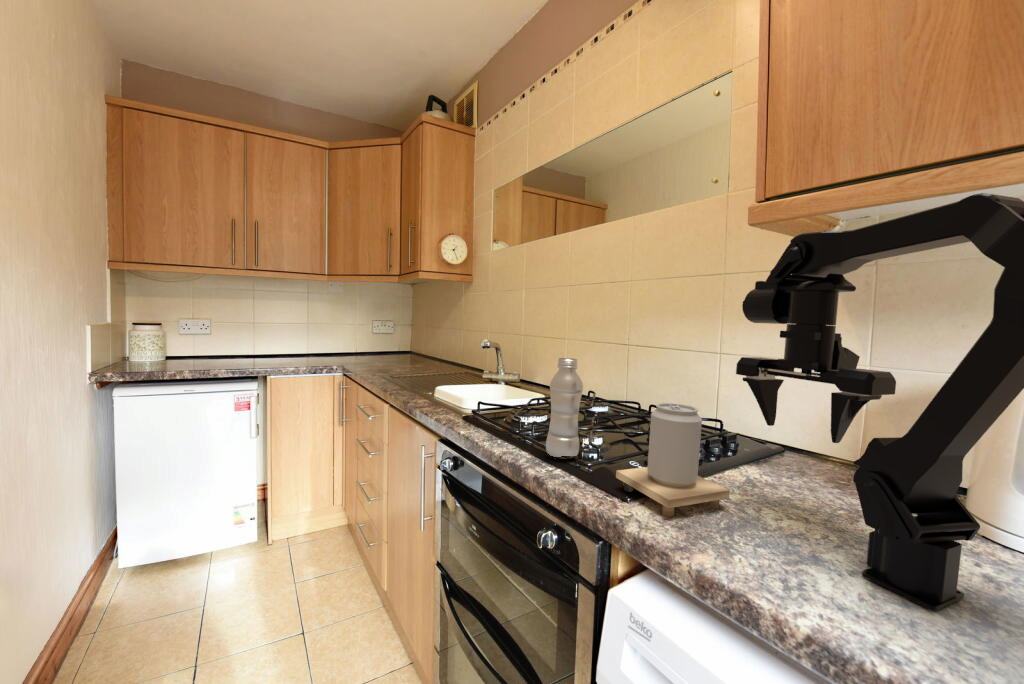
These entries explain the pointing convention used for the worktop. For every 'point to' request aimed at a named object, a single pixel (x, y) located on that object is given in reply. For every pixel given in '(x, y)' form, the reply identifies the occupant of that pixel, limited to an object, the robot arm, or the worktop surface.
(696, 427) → the can
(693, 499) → the small wooden stand
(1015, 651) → the worktop surface
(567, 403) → the plastic bottle
